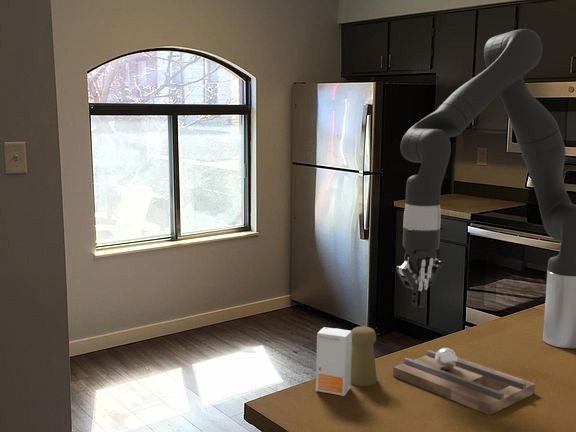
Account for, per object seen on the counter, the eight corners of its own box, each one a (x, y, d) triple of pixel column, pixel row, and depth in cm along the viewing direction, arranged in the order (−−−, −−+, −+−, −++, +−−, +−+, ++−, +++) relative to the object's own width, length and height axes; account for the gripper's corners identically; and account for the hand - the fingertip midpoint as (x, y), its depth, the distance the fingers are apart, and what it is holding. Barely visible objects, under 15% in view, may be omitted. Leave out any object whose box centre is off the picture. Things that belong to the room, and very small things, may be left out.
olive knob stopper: (376, 387, 129) (377, 333, 128) (345, 384, 130) (346, 331, 129) (378, 375, 135) (379, 324, 134) (349, 373, 136) (349, 322, 135)
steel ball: (443, 363, 137) (444, 343, 136) (461, 369, 133) (462, 349, 133) (430, 368, 134) (430, 347, 133) (447, 374, 131) (448, 353, 130)
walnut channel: (438, 359, 144) (439, 346, 144) (534, 393, 127) (535, 378, 126) (392, 376, 135) (393, 362, 135) (489, 415, 117) (490, 399, 117)
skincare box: (315, 391, 127) (315, 332, 125) (322, 383, 131) (323, 326, 129) (345, 397, 125) (346, 336, 123) (351, 388, 129) (352, 330, 127)
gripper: (427, 220, 142) (424, 297, 145) (386, 226, 134) (383, 308, 137) (456, 225, 136) (452, 305, 139) (414, 231, 128) (411, 316, 131)
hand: (418, 306), depth 138 cm, fingers closed
